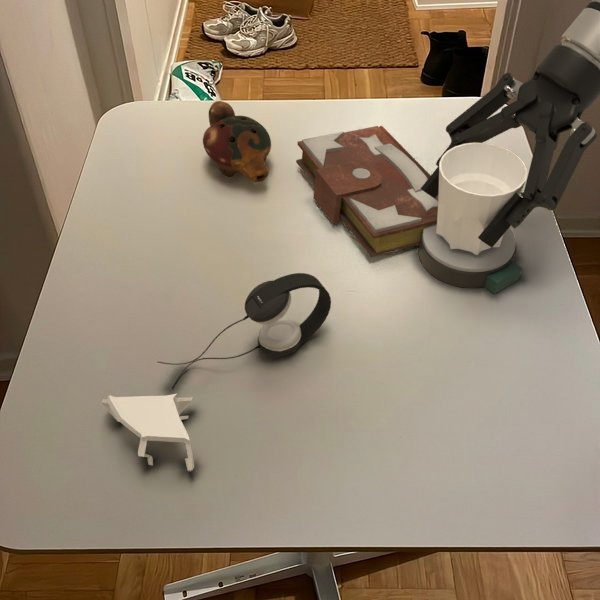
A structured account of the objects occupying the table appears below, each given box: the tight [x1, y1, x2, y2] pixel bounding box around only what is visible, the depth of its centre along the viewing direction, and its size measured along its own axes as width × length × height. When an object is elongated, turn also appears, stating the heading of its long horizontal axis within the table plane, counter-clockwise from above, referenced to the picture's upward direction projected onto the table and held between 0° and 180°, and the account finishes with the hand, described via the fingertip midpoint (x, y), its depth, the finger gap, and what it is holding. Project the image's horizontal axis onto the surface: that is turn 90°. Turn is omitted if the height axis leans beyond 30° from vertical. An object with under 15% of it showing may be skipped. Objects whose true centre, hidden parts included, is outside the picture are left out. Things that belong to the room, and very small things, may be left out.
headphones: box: [157, 272, 332, 389], centre depth 81 cm, size 10×4×20 cm
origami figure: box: [101, 393, 195, 472], centre depth 75 cm, size 12×8×5 cm
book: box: [295, 125, 439, 258], centre depth 102 cm, size 23×16×5 cm
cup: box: [436, 142, 529, 255], centre depth 89 cm, size 10×10×10 cm
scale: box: [418, 224, 523, 295], centre depth 94 cm, size 13×12×3 cm
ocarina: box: [202, 100, 272, 184], centre depth 107 cm, size 10×15×8 cm, turn 34°
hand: (455, 217), depth 89 cm, fingers closed on cup, 10 cm apart
